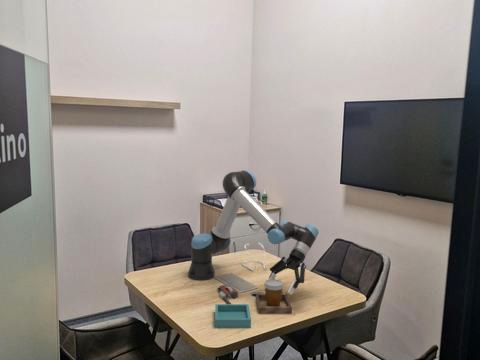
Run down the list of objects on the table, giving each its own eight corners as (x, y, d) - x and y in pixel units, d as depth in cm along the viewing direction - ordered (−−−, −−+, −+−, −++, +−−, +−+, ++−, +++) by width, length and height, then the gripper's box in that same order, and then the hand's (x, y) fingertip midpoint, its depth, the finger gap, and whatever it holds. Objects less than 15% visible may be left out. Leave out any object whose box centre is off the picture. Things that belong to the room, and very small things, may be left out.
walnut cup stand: (258, 313, 190) (258, 307, 190) (255, 299, 205) (255, 294, 205) (291, 313, 191) (292, 307, 190) (286, 299, 206) (286, 294, 206)
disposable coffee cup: (285, 304, 200) (286, 281, 199) (279, 312, 192) (279, 287, 190) (267, 300, 204) (268, 277, 203) (260, 308, 196) (260, 284, 194)
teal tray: (214, 327, 176) (215, 319, 176) (215, 311, 191) (215, 304, 191) (250, 327, 177) (251, 319, 176) (248, 311, 192) (248, 304, 192)
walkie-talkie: (213, 291, 216) (227, 306, 198) (213, 283, 215) (228, 298, 197) (229, 288, 219) (244, 303, 201) (229, 280, 219) (244, 295, 201)
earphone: (250, 267, 241) (243, 241, 252) (244, 281, 253) (237, 256, 264) (272, 265, 245) (264, 240, 257) (264, 279, 257) (257, 255, 268)
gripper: (322, 263, 199) (302, 301, 191) (283, 251, 217) (263, 285, 209) (316, 254, 195) (295, 293, 187) (277, 243, 213) (256, 278, 205)
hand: (278, 289), depth 198 cm, fingers open, 13 cm apart
